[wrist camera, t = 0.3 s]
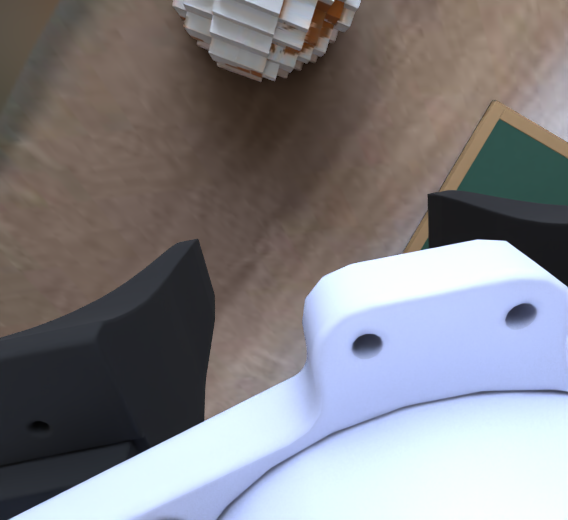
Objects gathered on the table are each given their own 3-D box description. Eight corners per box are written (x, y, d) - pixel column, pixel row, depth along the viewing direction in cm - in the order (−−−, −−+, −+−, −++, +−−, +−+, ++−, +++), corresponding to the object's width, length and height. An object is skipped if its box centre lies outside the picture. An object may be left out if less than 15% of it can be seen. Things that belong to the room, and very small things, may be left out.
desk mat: (600, 461, 31) (605, 466, 31) (341, 356, 27) (342, 360, 26) (768, 263, 27) (776, 265, 26) (492, 100, 22) (496, 100, 22)
